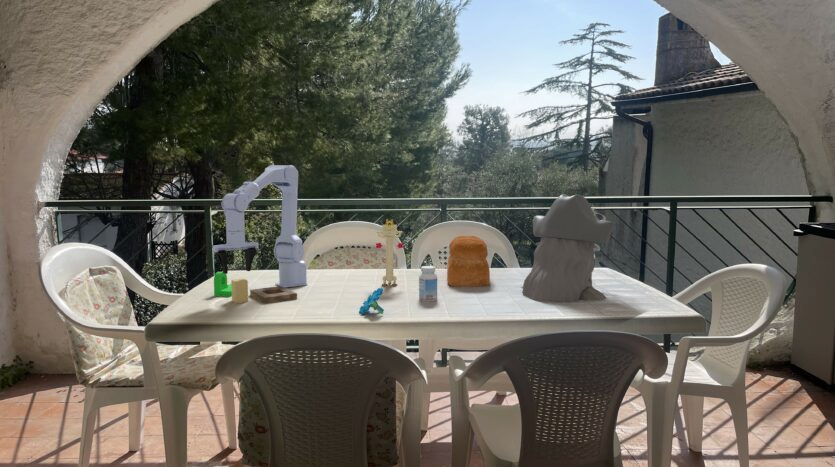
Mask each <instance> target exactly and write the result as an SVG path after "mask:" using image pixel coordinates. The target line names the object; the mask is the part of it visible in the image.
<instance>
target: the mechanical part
mask: <svg viewBox="0 0 835 467" xmlns="http://www.w3.org/2000/svg"><path fill="white" fill-rule="evenodd" d="M213 293H214V294H213V295H214V297H228V298H229V297H230V298H232V283H229V284H228V275H227V274H224V273H223V271H217V272H216V273H215V274H214V276H213Z"/></svg>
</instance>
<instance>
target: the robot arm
mask: <svg viewBox="0 0 835 467" xmlns="http://www.w3.org/2000/svg"><path fill="white" fill-rule="evenodd" d="M270 184H272V185H274V186H276V187H277V188H279V190H280V191H281V192H282V197H281V198H282V199H281V226H280V227H281V228H280V229H281V230H280V232H281V233H280V235H279V236H278V237H277V238H276V239H275V245H274V248H273V255H274V257H275V259H276V261H277V262H278V276H279V277H278V278H279V280H278V282H275V285H277V286H282V287H284V288H286V289H287V288H293V287H294V288H295V287H302V286H308V282H307V266H306V265H307V264H306V262H305V261H304V260H302V258H304V255H305V254H304V253H305V250H304V246H303V240H302V239H301V238H300V237H299V236H298V235H297V225H298V224H297V219H298V218H297V215H298V188H299V171H298V169H297V168H296V166H294V165H292V164H290V165H277V164H276V165H275V164H269V166H267V167H266V168H264V172H262V173H261V174H260V175H259V176H258V177H257V178H256V179H254V180H253V181H244V182H243V183H242V185H241V186H239V187H238V188H235V189H234V191H233V192H232V193H230V192H229V193H226V194H225V195H224V196H223V198H222V200H221V202H220V204H221V207H222V210H223V214H224V216H225V230H226V232H225V233H226V243H224V244H216V245H212V252H214V253H215V255H216V257H217V259H218V261H219V264H220V266H221V270H222V272H223V273H224V274H226V275H227V274H228V270H229V269H228V268H229V267H228V258H229V253H228V252H227V251H241V250H243V251H244V252H243V253H244V258H245V271H246V272H251V268H252V264H253V260H254V259H255V256H256V255H257V251H258V249H259V242H257V241H251V242H250V241H249V242H246V229H245V211H246V210H247V209H248V207H249V204H250V203H251V202H252V201H253V200H255V199H256V198H257V197H258V196H259V195H260V191H261V190H262V189H264V188H265V187H267V186H269V185H270Z"/></svg>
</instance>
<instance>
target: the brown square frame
mask: <svg viewBox="0 0 835 467" xmlns="http://www.w3.org/2000/svg"><path fill="white" fill-rule="evenodd" d="M249 292H250V294H249V295H250V296H251V297H252V298H253V299H256V300H258V301H260V302H261V303H263V304H272V303H278V302H284V301H285V302H286V301H292V300H297V299H298V293H297V292H294V291H293V290H290V289H289V288H287V287H286V288H284V287H282V286H278V285H277V286H270V287H263V288H262V287H261V288H255V289H252V288H251V289H249Z"/></svg>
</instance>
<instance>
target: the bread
mask: <svg viewBox="0 0 835 467" xmlns="http://www.w3.org/2000/svg"><path fill="white" fill-rule="evenodd" d="M448 249H449V256H448V259H447V266H446V270H447V271H446V276H447V279H446V280H447V281H446V282H447V284H448V285H449V286H451V287H454V286H456V288H457V287H458V288H460V287H461V288H462V287H471V288H472V287H488V286H490V283H491V281H490V280H491V279H490V276H491V275H490V274H491V273H490V272H491V271H490V266H489V262H488V260H487V257H488V254H489V251H488V246H487V243H486V242H485V240H483V239H482V238H480V237H478V236H474V235H461V236H460V235H459V236H456V237H454V238H453V239H452V240H451V241H450V243H449V246H448Z"/></svg>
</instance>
